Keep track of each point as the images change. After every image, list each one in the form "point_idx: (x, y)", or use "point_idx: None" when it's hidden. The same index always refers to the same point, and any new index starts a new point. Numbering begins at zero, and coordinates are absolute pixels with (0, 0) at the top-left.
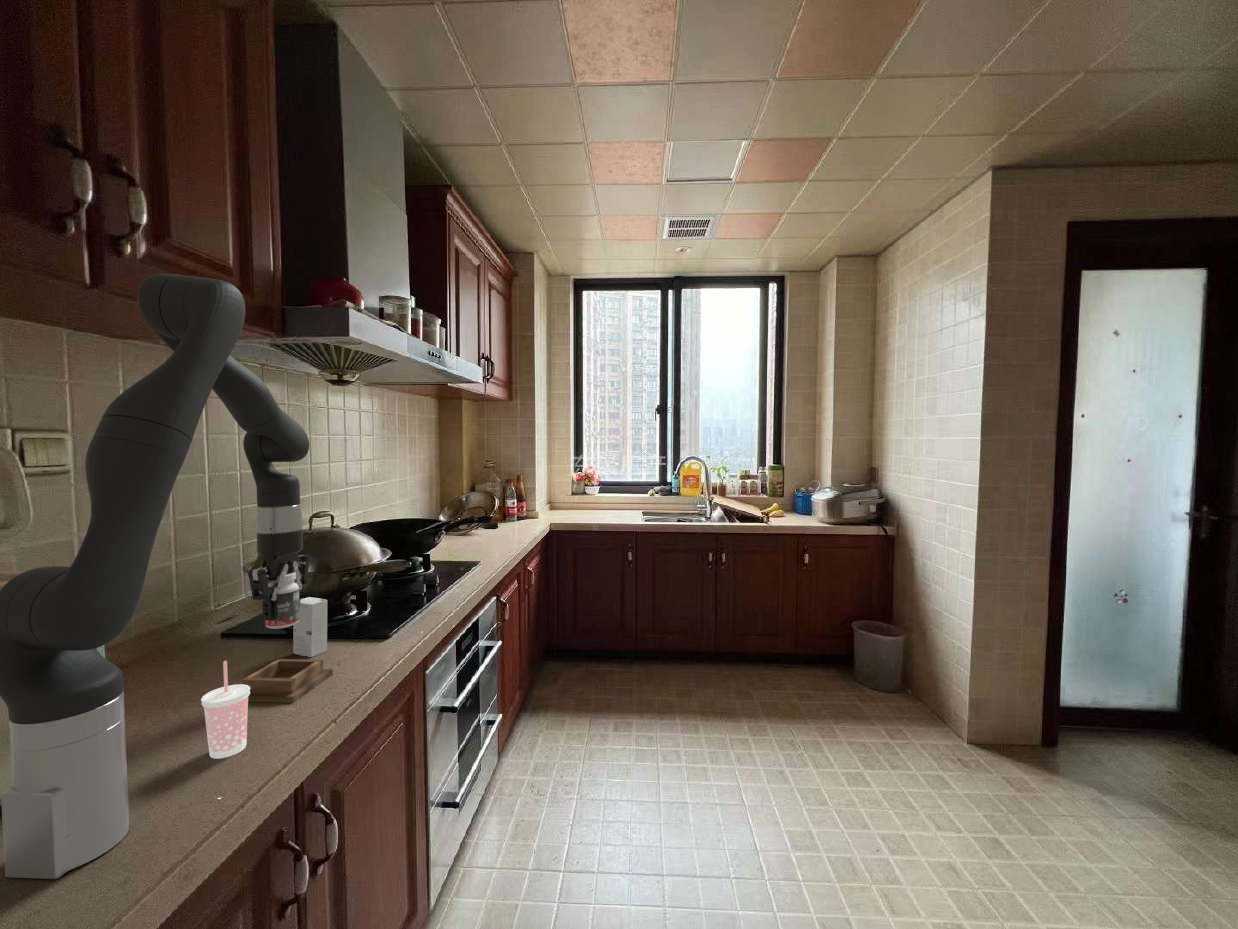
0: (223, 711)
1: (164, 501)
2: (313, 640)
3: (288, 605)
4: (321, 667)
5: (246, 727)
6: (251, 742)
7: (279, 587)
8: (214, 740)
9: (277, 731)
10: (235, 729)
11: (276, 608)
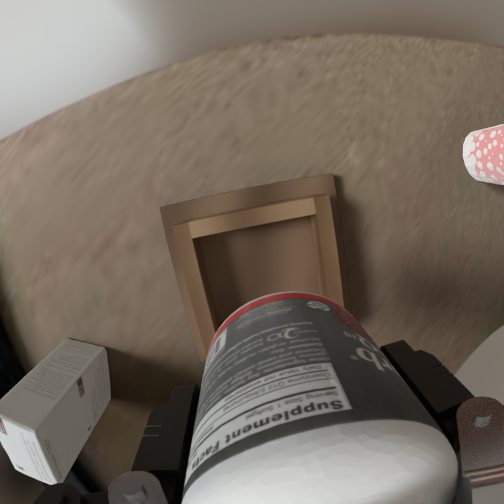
0: None
1: None
2: (82, 365)
3: (365, 350)
4: (185, 221)
5: (488, 129)
6: (459, 134)
7: (492, 473)
8: None
9: (426, 112)
10: None
11: (417, 374)
